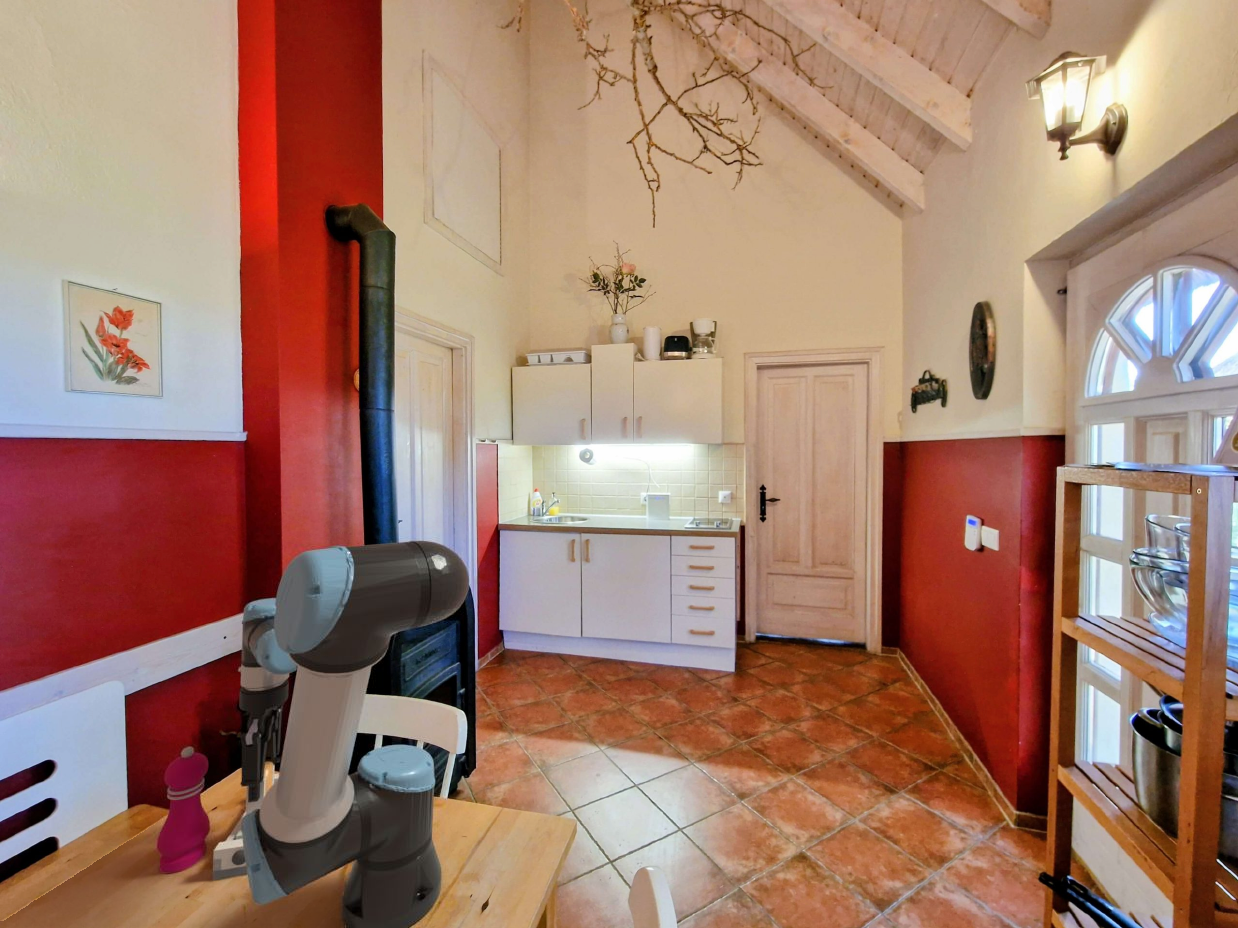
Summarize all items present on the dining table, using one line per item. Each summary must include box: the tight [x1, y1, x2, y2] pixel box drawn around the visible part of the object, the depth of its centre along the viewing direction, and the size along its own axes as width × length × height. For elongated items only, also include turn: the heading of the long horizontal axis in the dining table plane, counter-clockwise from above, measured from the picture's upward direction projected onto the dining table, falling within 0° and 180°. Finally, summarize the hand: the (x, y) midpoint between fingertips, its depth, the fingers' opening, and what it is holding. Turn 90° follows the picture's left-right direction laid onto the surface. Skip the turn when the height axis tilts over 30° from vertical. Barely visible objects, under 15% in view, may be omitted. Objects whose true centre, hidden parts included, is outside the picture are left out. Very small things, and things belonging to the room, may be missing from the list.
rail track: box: [212, 772, 279, 881], centre depth 97 cm, size 23×8×5 cm, turn 16°
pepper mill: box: [156, 746, 211, 874], centre depth 89 cm, size 7×7×20 cm
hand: (259, 807), depth 94 cm, fingers closed on carriage, 4 cm apart
